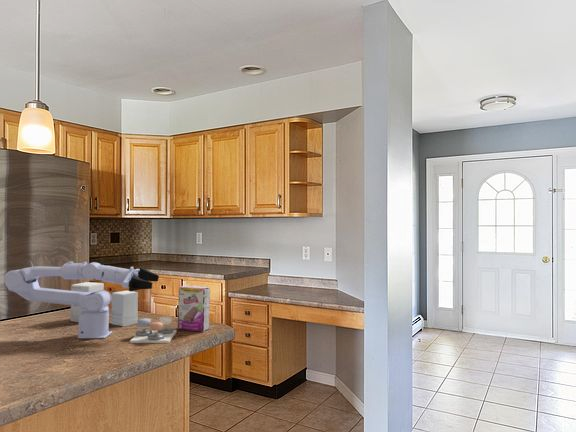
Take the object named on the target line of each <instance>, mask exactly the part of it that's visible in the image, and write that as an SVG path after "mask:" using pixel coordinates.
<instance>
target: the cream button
mask: <svg viewBox="0 0 576 432" xmlns="http://www.w3.org/2000/svg"><path fill="white" fill-rule="evenodd" d="M158 320H159V321H158V322H163V326H169V325H172V324H173V316H160V317H159V318H158Z"/></svg>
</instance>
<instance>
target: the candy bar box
mask: <svg viewBox="0 0 576 432" xmlns="http://www.w3.org/2000/svg"><path fill="white" fill-rule="evenodd" d="M210 297H211V287H210V286H209V287H208V286H198V285H188V284H187V285H182V286H179V287H178V312H177V313H178V316H177V330H184V331H193V332H194V331H195V332H202V333H203V332H206V331H208V330H210V304H211V303H210V301H211V300H210V299H211V298H210Z"/></svg>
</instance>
